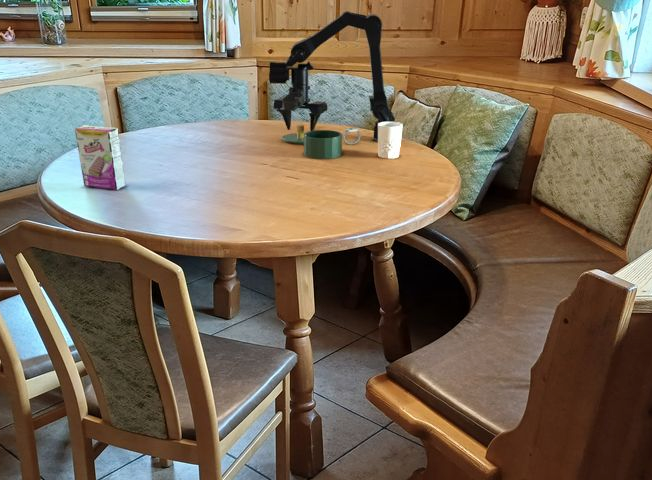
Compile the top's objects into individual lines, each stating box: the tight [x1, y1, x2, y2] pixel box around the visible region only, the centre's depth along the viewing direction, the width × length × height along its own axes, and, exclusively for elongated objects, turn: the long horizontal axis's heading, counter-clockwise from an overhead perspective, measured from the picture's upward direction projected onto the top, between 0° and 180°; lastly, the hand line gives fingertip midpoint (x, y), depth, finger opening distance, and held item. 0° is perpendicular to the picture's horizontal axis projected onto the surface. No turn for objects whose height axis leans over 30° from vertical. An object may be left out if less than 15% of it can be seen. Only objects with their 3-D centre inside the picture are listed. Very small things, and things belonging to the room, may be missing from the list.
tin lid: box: [281, 124, 306, 145], centre depth 253 cm, size 13×13×5 cm
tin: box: [303, 129, 343, 160], centre depth 236 cm, size 12×12×6 cm
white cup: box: [377, 121, 404, 159], centre depth 233 cm, size 8×8×10 cm
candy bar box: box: [74, 124, 126, 191], centre depth 204 cm, size 11×5×16 cm, turn 71°
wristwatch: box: [342, 127, 361, 145], centre depth 249 cm, size 6×3×5 cm, turn 108°
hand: (300, 131), depth 253 cm, fingers open, 9 cm apart
